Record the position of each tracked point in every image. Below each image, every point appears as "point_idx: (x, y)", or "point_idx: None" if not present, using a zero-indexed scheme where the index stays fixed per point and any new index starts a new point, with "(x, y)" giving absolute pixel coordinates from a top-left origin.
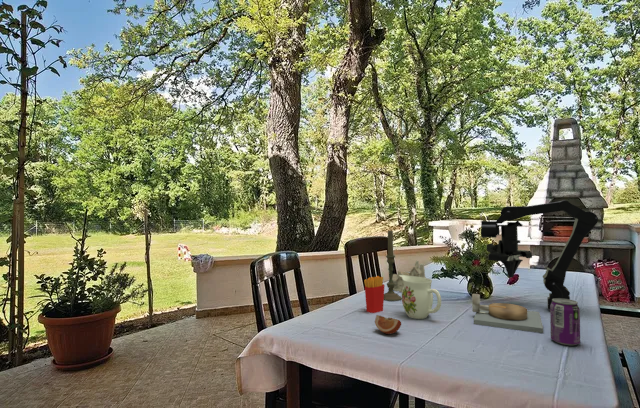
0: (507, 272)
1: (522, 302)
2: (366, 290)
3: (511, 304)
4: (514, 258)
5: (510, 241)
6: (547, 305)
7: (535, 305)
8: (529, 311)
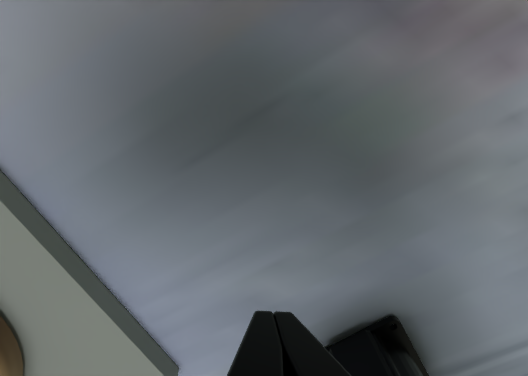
0: (234, 364)
1: (431, 148)
2: None
3: None
4: None
5: None
6: (367, 341)
7: (410, 238)
8: (132, 361)
